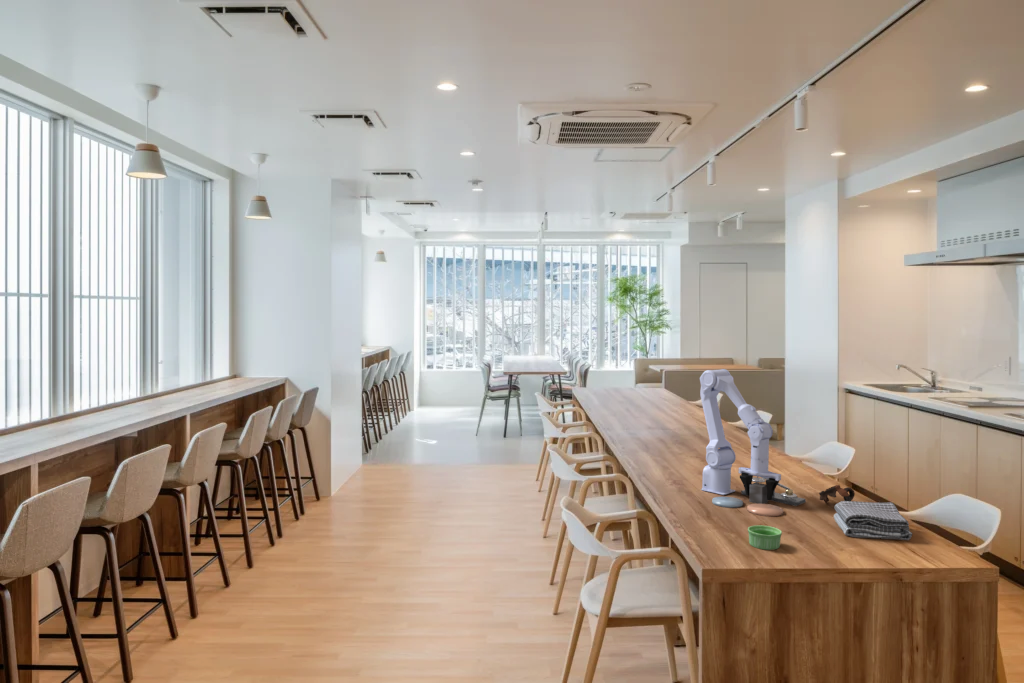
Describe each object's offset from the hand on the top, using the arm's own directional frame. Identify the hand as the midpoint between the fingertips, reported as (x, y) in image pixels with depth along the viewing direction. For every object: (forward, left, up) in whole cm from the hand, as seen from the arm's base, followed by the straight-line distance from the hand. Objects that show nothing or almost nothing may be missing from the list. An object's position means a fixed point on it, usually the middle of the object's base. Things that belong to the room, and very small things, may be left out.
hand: (758, 497), depth 239 cm
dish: (+7, -9, -1) cm, 11 cm away
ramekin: (+23, -40, -2) cm, 46 cm away
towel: (+38, -5, -2) cm, 39 cm away
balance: (+1, +8, -1) cm, 8 cm away
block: (0, 0, -2) cm, 2 cm away
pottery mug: (+20, +16, -2) cm, 26 cm away
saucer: (-6, -10, -1) cm, 12 cm away
